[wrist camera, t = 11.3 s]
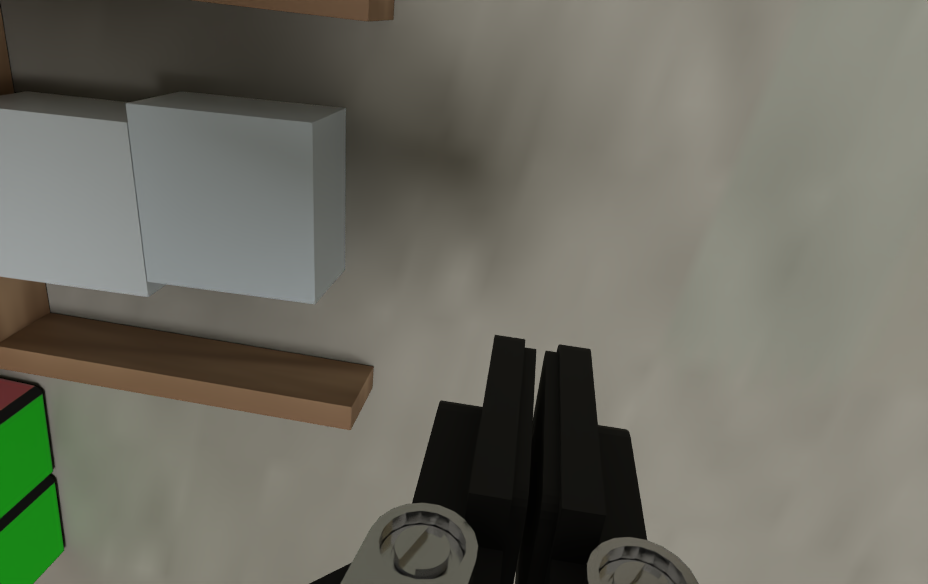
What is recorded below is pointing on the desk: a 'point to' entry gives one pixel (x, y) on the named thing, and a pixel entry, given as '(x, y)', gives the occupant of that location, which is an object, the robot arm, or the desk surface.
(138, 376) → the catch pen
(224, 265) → the tile trail
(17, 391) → the puzzle cube
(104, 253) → the tile
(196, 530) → the desk surface
